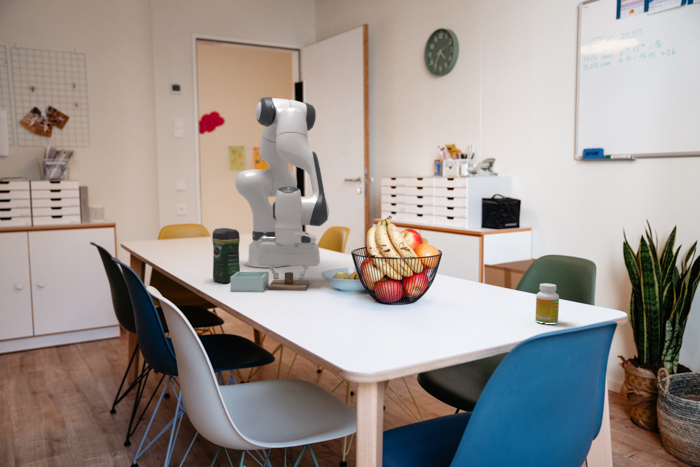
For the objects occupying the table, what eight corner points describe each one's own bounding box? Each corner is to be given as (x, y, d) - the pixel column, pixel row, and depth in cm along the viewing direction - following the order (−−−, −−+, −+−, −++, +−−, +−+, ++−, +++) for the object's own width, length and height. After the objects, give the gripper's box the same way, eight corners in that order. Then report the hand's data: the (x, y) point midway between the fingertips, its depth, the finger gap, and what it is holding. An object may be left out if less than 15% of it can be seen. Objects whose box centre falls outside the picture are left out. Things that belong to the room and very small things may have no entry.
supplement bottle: (555, 326, 141) (556, 287, 140) (533, 323, 144) (534, 285, 143) (559, 321, 146) (561, 284, 145) (538, 318, 149) (539, 282, 148)
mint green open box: (237, 286, 189) (237, 271, 189) (268, 286, 189) (268, 271, 189) (230, 292, 179) (230, 277, 179) (263, 293, 179) (262, 277, 178)
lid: (273, 282, 194) (273, 269, 194) (309, 283, 194) (309, 270, 193) (267, 290, 182) (267, 276, 182) (305, 290, 182) (305, 276, 181)
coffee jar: (244, 282, 198) (243, 228, 196) (223, 284, 192) (222, 229, 190) (229, 278, 205) (228, 226, 203) (209, 280, 199) (208, 227, 197)
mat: (272, 283, 195) (272, 282, 194) (310, 284, 194) (310, 283, 194) (265, 291, 182) (265, 290, 182) (306, 292, 181) (306, 290, 181)
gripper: (255, 237, 183) (255, 280, 185) (318, 238, 183) (318, 281, 184) (258, 235, 190) (259, 276, 191) (320, 236, 189) (320, 277, 190)
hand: (288, 279), depth 188 cm, fingers open, 7 cm apart
